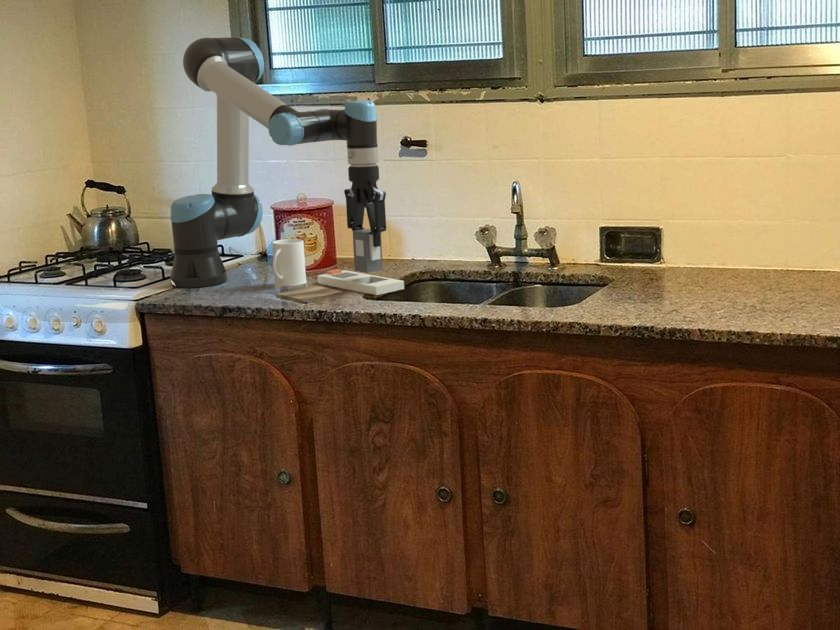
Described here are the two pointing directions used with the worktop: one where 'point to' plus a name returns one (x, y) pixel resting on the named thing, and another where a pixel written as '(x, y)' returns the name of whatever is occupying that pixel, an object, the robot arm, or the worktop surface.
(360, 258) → the block
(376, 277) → the strip
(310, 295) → the trivet
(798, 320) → the worktop surface
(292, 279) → the mug
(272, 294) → the worktop surface
